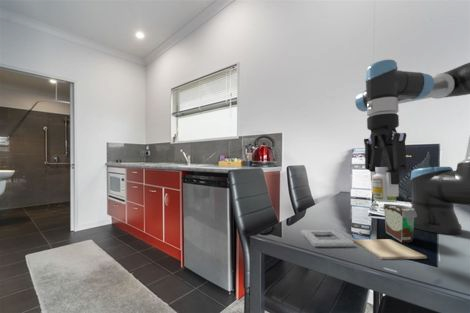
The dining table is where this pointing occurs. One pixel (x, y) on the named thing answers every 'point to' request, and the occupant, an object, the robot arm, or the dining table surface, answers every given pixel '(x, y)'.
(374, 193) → the supplement bottle
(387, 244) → the oak pad
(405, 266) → the dining table surface
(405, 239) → the food container
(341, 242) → the grey square frame
